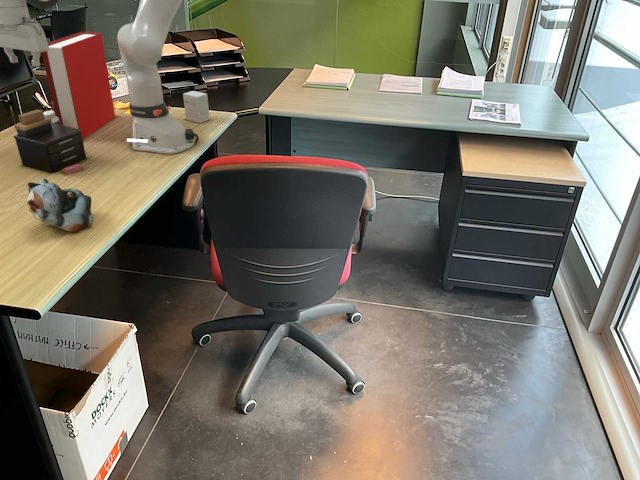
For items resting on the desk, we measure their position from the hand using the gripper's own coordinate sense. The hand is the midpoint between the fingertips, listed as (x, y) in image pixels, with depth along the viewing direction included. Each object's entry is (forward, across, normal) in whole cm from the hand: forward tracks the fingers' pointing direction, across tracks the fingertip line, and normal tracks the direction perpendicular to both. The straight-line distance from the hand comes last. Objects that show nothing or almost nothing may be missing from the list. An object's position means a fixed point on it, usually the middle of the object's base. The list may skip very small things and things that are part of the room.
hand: (25, 64), depth 166 cm
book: (+30, +9, -27) cm, 41 cm away
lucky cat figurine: (+30, -42, +32) cm, 61 cm away
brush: (+19, -3, +5) cm, 20 cm away
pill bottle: (+29, +9, -12) cm, 33 cm away
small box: (+30, -22, -54) cm, 65 cm away
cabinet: (+29, -7, +4) cm, 31 cm away
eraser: (+30, -18, +7) cm, 35 cm away
